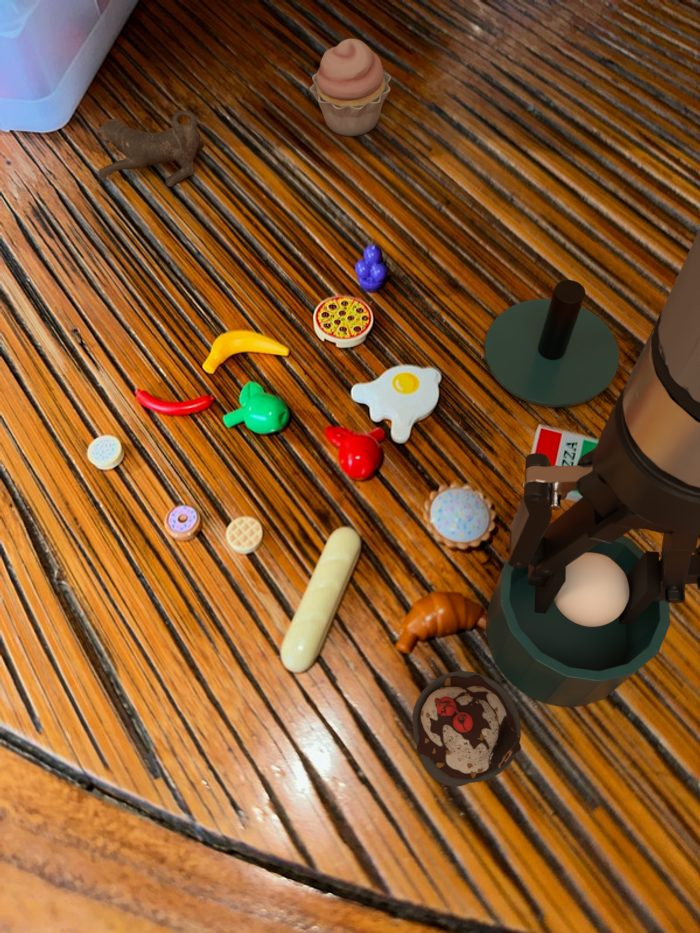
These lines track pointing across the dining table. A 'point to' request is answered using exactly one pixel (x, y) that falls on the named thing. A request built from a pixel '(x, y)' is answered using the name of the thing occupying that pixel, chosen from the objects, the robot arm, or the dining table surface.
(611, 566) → the beige ball
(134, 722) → the dining table surface
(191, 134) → the dog figurine
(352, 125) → the cupcake
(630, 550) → the pot
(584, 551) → the robot arm
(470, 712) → the sundae
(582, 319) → the lid
